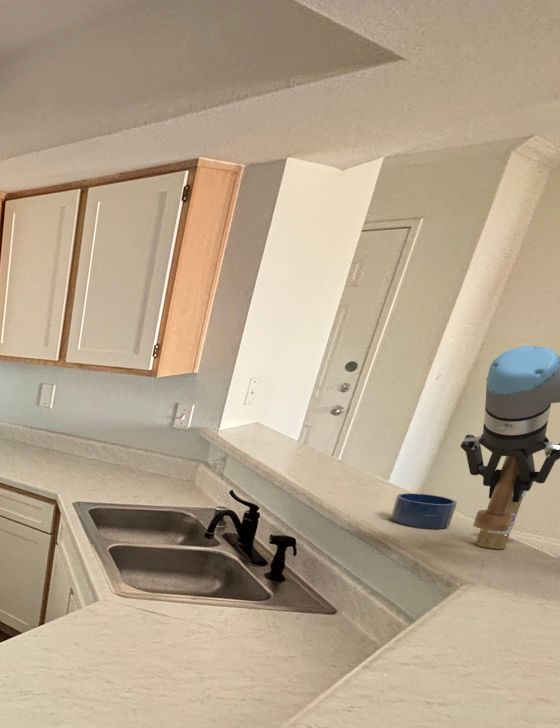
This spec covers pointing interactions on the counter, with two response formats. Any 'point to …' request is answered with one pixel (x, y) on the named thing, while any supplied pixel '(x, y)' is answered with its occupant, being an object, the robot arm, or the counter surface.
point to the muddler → (500, 499)
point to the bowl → (423, 510)
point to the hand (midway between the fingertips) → (505, 495)
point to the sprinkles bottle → (498, 538)
